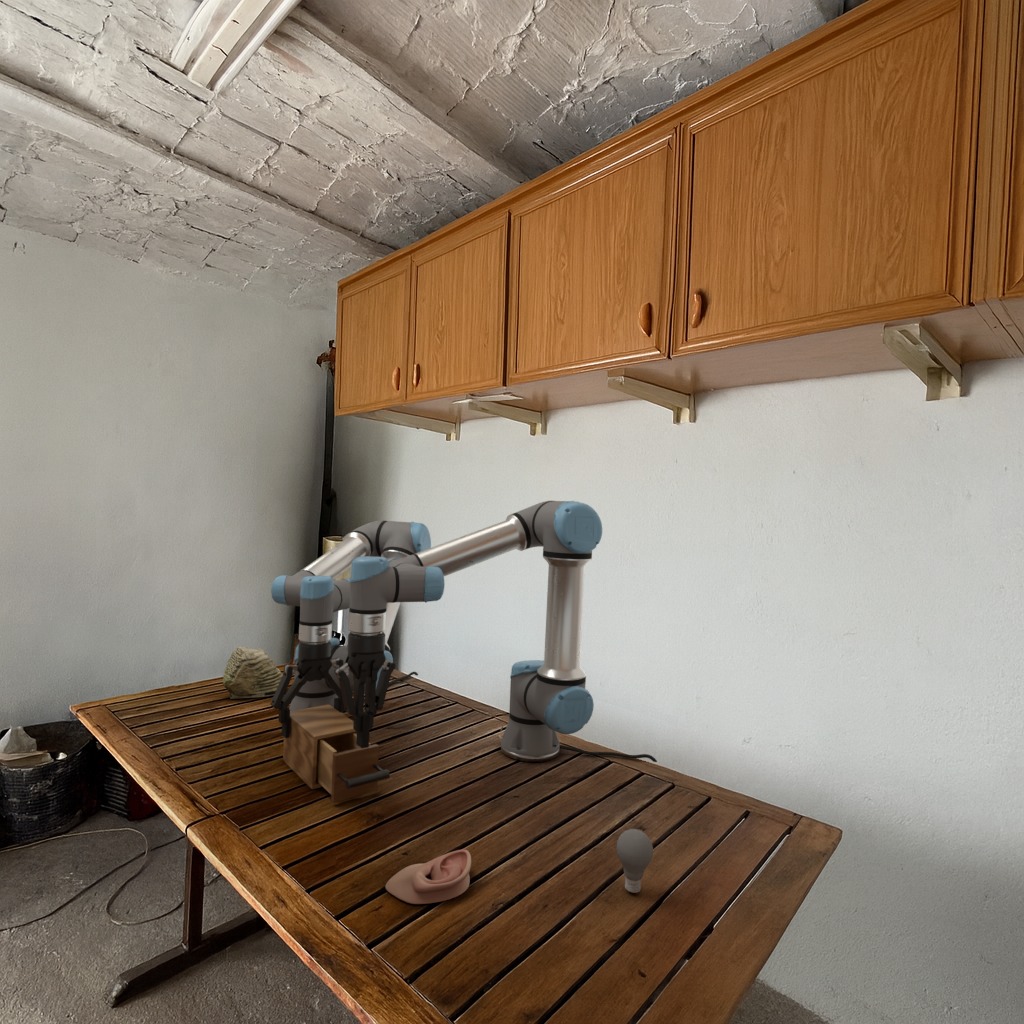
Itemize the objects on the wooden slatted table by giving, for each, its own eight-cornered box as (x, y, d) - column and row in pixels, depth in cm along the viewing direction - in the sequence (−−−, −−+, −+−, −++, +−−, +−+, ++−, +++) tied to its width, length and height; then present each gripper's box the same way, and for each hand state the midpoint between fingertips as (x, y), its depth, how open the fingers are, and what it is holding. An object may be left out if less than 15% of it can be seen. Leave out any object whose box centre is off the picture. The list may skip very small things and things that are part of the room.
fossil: (218, 695, 195) (220, 647, 195) (278, 685, 208) (279, 640, 207) (228, 703, 189) (230, 653, 188) (289, 692, 201) (290, 645, 201)
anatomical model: (378, 873, 101) (404, 836, 112) (377, 898, 101) (403, 858, 112) (458, 887, 98) (477, 848, 109) (457, 912, 98) (476, 870, 109)
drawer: (390, 801, 131) (392, 755, 131) (345, 814, 125) (347, 766, 125) (343, 762, 149) (345, 721, 149) (302, 772, 143) (304, 729, 143)
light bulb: (610, 879, 108) (613, 822, 108) (644, 879, 109) (647, 822, 109) (619, 902, 102) (622, 840, 102) (655, 901, 103) (658, 840, 103)
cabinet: (359, 777, 144) (361, 726, 144) (312, 789, 137) (314, 736, 137) (327, 750, 158) (329, 704, 158) (282, 760, 151) (284, 712, 151)
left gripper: (268, 650, 141) (265, 746, 141) (368, 638, 156) (365, 725, 156) (258, 643, 147) (254, 735, 147) (355, 633, 162) (352, 717, 162)
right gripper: (344, 638, 123) (340, 758, 124) (404, 632, 132) (399, 744, 132) (329, 631, 129) (324, 746, 130) (386, 625, 137) (382, 733, 138)
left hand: (311, 730), depth 152 cm, fingers open, 12 cm apart
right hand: (362, 745), depth 131 cm, fingers closed
